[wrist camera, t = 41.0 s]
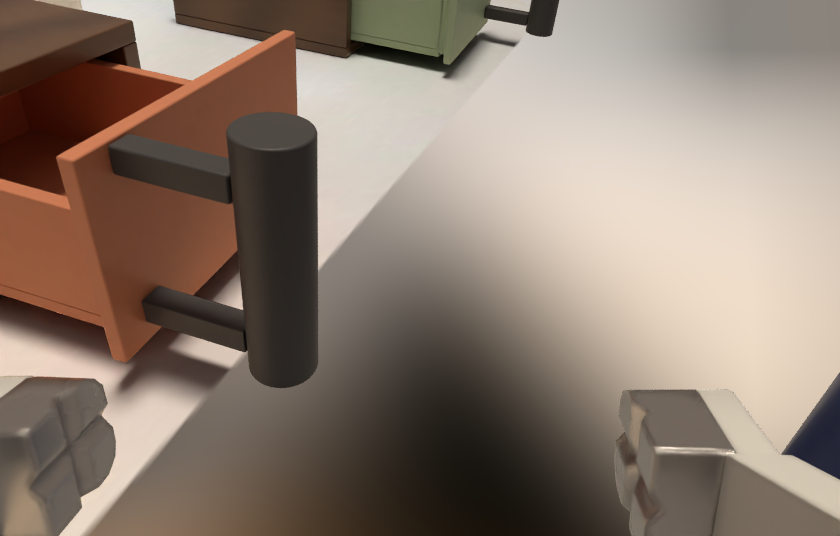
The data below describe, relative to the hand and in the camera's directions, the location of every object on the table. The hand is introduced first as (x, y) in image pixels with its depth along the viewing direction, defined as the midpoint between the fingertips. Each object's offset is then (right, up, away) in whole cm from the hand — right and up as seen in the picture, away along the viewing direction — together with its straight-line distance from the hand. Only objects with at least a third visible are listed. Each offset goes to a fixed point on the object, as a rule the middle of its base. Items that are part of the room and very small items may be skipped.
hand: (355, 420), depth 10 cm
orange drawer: (-12, +4, +18) cm, 22 cm away
